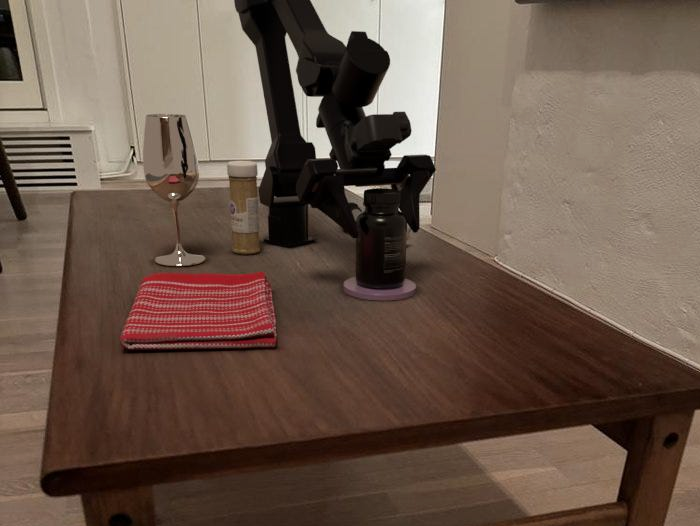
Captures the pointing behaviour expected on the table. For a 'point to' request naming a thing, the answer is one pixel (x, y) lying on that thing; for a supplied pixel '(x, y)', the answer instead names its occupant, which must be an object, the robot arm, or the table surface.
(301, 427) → the table surface
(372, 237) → the supplement bottle
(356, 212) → the smartwatch
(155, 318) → the dish towel
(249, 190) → the sprinkles bottle
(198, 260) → the wineglass
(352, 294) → the saucer
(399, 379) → the table surface
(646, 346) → the table surface
